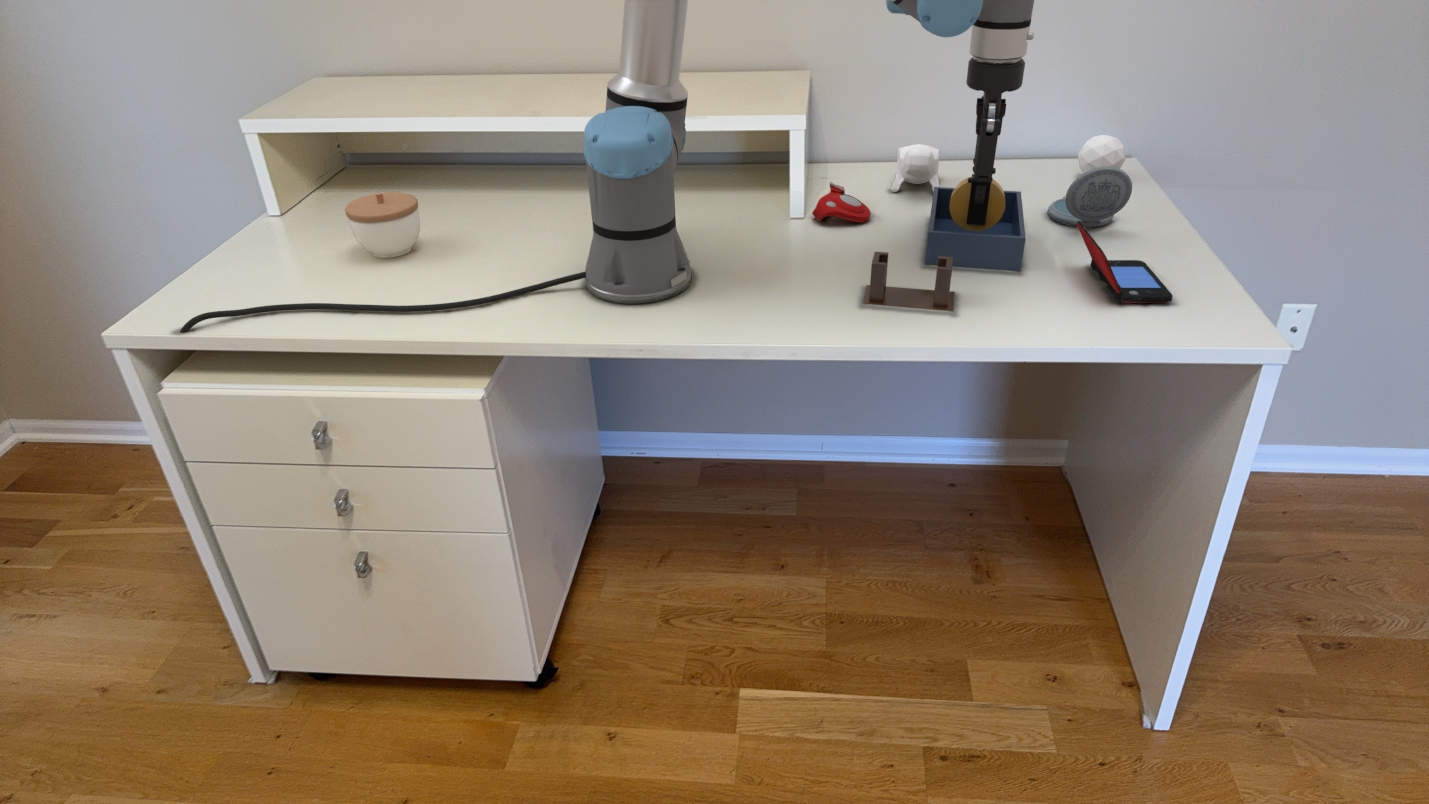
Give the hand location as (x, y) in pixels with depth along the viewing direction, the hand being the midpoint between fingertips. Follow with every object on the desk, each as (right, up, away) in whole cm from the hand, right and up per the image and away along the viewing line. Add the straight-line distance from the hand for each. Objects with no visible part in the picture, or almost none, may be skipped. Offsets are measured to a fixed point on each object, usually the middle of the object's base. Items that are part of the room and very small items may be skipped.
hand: (975, 220), depth 137 cm
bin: (0, -3, +2) cm, 4 cm away
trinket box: (-91, -4, +6) cm, 91 cm away
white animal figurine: (-4, +10, +24) cm, 27 cm away
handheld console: (+16, -11, -11) cm, 23 cm away
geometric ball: (+29, +13, +26) cm, 41 cm away
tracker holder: (-18, +4, +15) cm, 24 cm away
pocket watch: (+20, +2, +10) cm, 22 cm away
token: (+1, -1, +1) cm, 1 cm away
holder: (-13, -14, -13) cm, 23 cm away
